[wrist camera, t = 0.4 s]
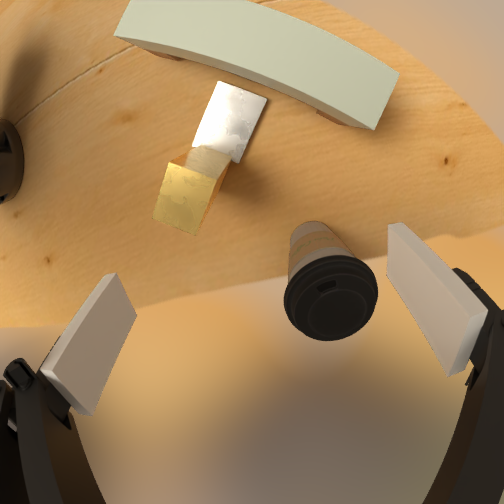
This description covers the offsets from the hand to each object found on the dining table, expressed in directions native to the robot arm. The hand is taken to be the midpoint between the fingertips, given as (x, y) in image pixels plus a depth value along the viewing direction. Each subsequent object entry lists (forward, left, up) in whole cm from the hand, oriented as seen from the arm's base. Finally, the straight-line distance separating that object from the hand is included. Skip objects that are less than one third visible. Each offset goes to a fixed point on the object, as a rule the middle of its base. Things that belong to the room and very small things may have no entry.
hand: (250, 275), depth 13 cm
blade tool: (-5, +2, -24) cm, 25 cm away
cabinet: (-5, +13, -24) cm, 28 cm away
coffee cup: (+11, -6, -25) cm, 27 cm away
